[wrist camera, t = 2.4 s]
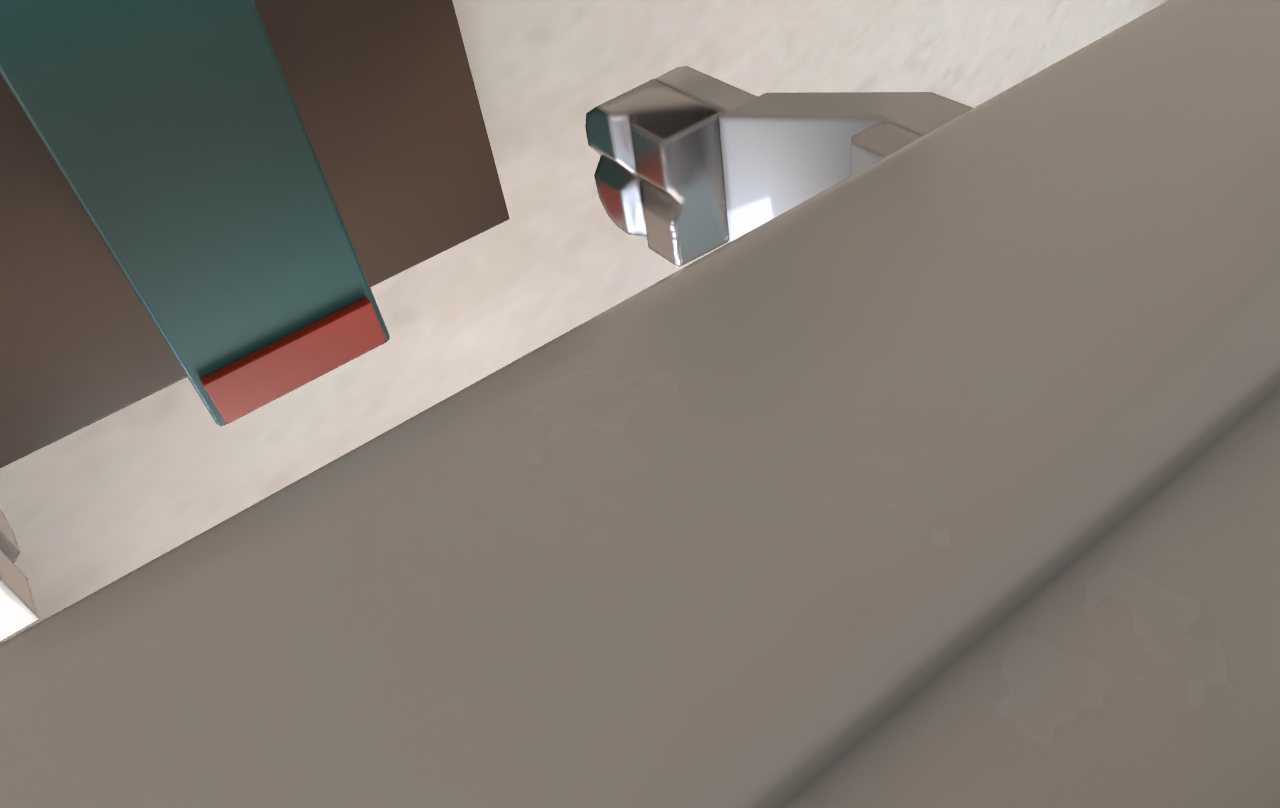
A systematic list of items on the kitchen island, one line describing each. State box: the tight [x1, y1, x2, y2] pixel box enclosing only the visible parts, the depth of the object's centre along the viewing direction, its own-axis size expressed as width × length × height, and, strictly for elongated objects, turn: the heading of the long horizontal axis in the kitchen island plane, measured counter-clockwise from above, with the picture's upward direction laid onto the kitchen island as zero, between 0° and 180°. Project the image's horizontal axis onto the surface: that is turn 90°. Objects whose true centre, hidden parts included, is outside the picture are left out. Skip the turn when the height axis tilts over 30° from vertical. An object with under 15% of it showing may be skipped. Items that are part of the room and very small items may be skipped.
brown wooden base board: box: [0, 0, 509, 468], centre depth 19 cm, size 15×15×3 cm
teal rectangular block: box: [0, 0, 389, 426], centre depth 16 cm, size 11×4×5 cm, turn 9°
